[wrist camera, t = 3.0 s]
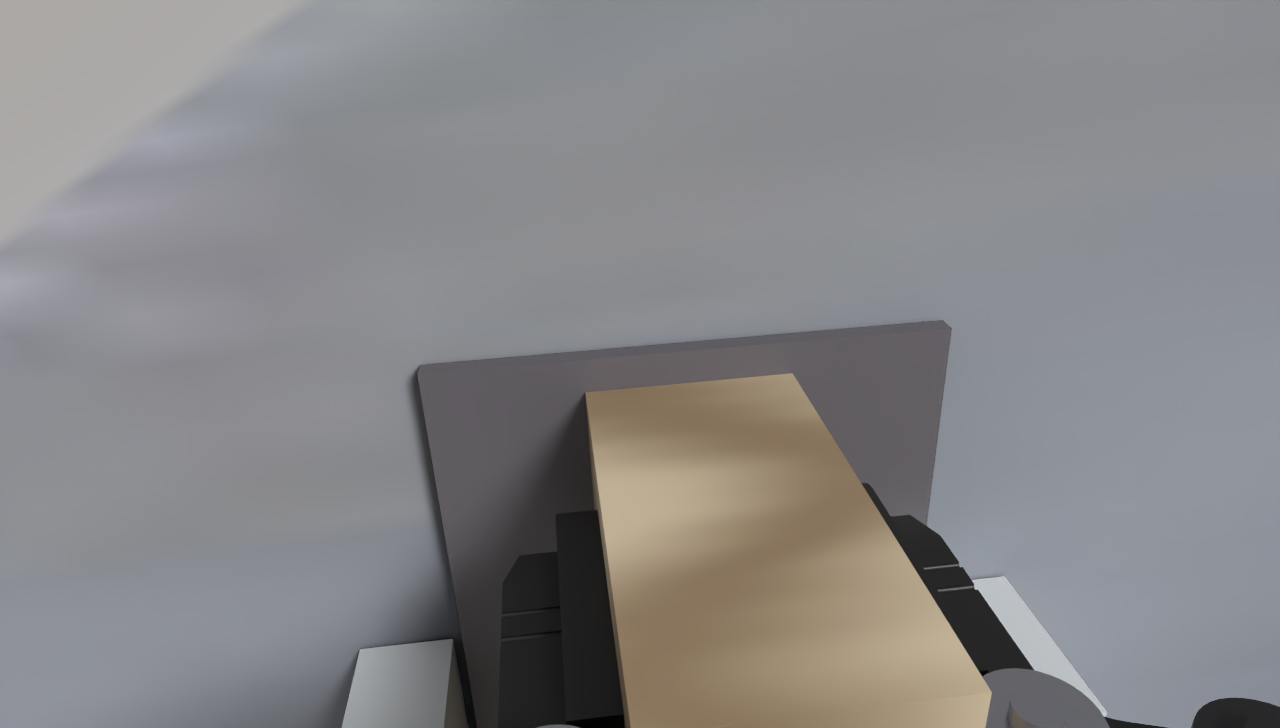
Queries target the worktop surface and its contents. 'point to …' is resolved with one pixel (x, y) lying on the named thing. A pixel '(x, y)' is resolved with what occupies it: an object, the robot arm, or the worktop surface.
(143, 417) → the worktop surface
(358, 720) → the channel
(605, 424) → the block
